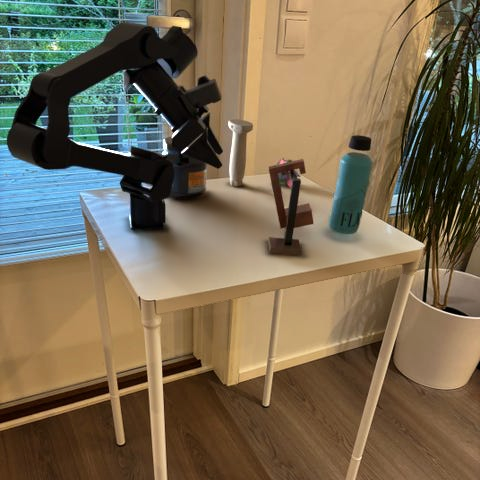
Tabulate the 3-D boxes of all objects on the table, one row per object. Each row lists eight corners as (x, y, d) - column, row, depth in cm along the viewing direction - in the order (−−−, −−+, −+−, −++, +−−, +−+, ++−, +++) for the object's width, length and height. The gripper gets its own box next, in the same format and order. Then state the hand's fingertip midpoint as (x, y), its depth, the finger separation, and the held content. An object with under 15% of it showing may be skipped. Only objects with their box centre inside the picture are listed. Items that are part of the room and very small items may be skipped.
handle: (235, 190, 124) (240, 126, 116) (221, 181, 129) (224, 120, 120) (251, 187, 127) (257, 125, 119) (236, 179, 131) (241, 118, 123)
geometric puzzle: (309, 181, 128) (300, 150, 127) (289, 184, 124) (279, 153, 124) (292, 190, 134) (283, 161, 133) (272, 194, 130) (263, 164, 130)
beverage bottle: (334, 242, 103) (354, 141, 92) (321, 228, 108) (338, 131, 97) (362, 240, 105) (385, 141, 94) (348, 227, 110) (369, 132, 99)
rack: (269, 253, 96) (278, 182, 88) (264, 220, 110) (272, 156, 102) (300, 255, 96) (312, 185, 89) (292, 222, 110) (301, 158, 102)
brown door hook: (280, 231, 102) (269, 171, 95) (279, 223, 105) (267, 164, 99) (314, 224, 101) (304, 162, 95) (311, 216, 105) (302, 156, 98)
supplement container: (215, 195, 120) (218, 143, 113) (179, 204, 114) (180, 149, 107) (187, 182, 126) (188, 132, 119) (152, 190, 120) (151, 137, 113)
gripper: (192, 68, 81) (255, 144, 87) (199, 54, 96) (251, 120, 103) (144, 116, 84) (207, 186, 91) (157, 96, 100) (210, 156, 107)
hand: (221, 159), depth 98 cm, fingers open, 9 cm apart
